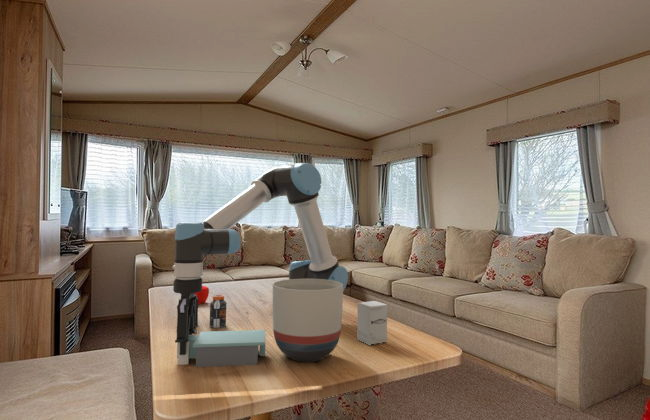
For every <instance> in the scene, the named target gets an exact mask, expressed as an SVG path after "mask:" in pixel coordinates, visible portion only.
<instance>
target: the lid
mask: <svg viewBox="0 0 650 420" xmlns="http://www.w3.org/2000/svg"><path fill="white" fill-rule="evenodd" d="M266 331H267V330H266V329H251V330H250V329H249V330H244V329H243V330H217V331H216V330H214V331H211V330H210V331H200V332H199V334H198V335H197V334H192V336H189V338H188V339H189V359H196V347H223V346H253V345H259V356H266ZM176 353H177V354H176V355H177V356H176V358H177V360H178V343H177V349H176Z"/></svg>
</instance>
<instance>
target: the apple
mask: <svg viewBox="0 0 650 420" xmlns="http://www.w3.org/2000/svg"><path fill="white" fill-rule="evenodd" d="M194 294H196V296H197V298H198V305H202V304H204V303H206V302H207V300H208V298H209V294H210V289H209V287H208V286H206V285H205V286H204V285H202V290H201V291H200V292H197V293H194Z"/></svg>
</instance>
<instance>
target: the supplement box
mask: <svg viewBox="0 0 650 420" xmlns="http://www.w3.org/2000/svg"><path fill="white" fill-rule="evenodd" d="M356 320H357V321H356V322H357V323H356V325H357V326H356V330H357V332H356V337H357V338H356V340H357V339H358V341H359V340H360V341H359V342H361V341H362V343H363V342H364V343H363V344H365V343H366V344H365V345H367V344H368V345H367V346H369V345H370V346H372V345H371V344H374V345H376V344H375V343H380V344H382V343H381V342H386V341H387V340H388V304H386V303H383V302H379V301H376V300H372V301H371V300H370V301H360V302H357V319H356ZM387 342H388V341H387Z"/></svg>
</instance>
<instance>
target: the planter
mask: <svg viewBox="0 0 650 420" xmlns="http://www.w3.org/2000/svg"><path fill="white" fill-rule="evenodd" d="M343 294H344V291H343V284H342V283H340V282H337V281H332V280H325V279H289V278H288V279H283V280H278V281H274V282H273V284H272V331H273V337H274V340H275V343H276V345H277V348H278V349H279V350H280V352H281V353H283V354H284V355H285V356H286V357H288V358H290V359H291V360H293V361H297V362H301V363H302V362H304V363H305V362H307V363H310V362H316V361H320V360H323V359H324V358H326V357H327V356H329V355H330V354H331V353H332V352H333V351H334V350H335V349H336V347H337V345H338V343H339V341H340V338H341V333H342V327H343V326H342V325H343V324H342V323H343V301H344V300H343V297H344V295H343Z"/></svg>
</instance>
